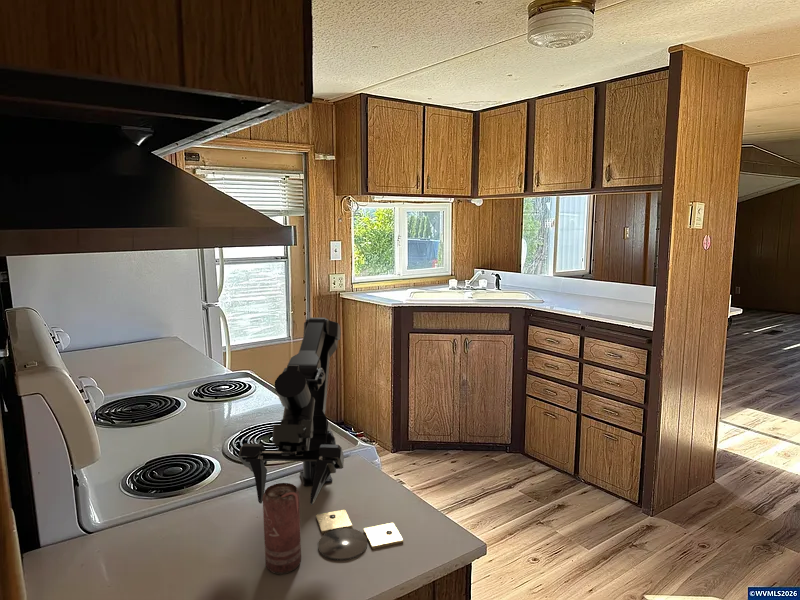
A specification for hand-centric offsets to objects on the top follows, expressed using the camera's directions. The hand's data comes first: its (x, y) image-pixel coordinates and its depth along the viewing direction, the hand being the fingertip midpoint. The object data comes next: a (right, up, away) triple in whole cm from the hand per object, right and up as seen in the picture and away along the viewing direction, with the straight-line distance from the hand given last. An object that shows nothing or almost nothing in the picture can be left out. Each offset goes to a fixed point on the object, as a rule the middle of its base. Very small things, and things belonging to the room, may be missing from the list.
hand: (285, 503), depth 98 cm
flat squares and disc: (+12, -9, +9) cm, 17 cm away
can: (0, -11, -1) cm, 11 cm away
